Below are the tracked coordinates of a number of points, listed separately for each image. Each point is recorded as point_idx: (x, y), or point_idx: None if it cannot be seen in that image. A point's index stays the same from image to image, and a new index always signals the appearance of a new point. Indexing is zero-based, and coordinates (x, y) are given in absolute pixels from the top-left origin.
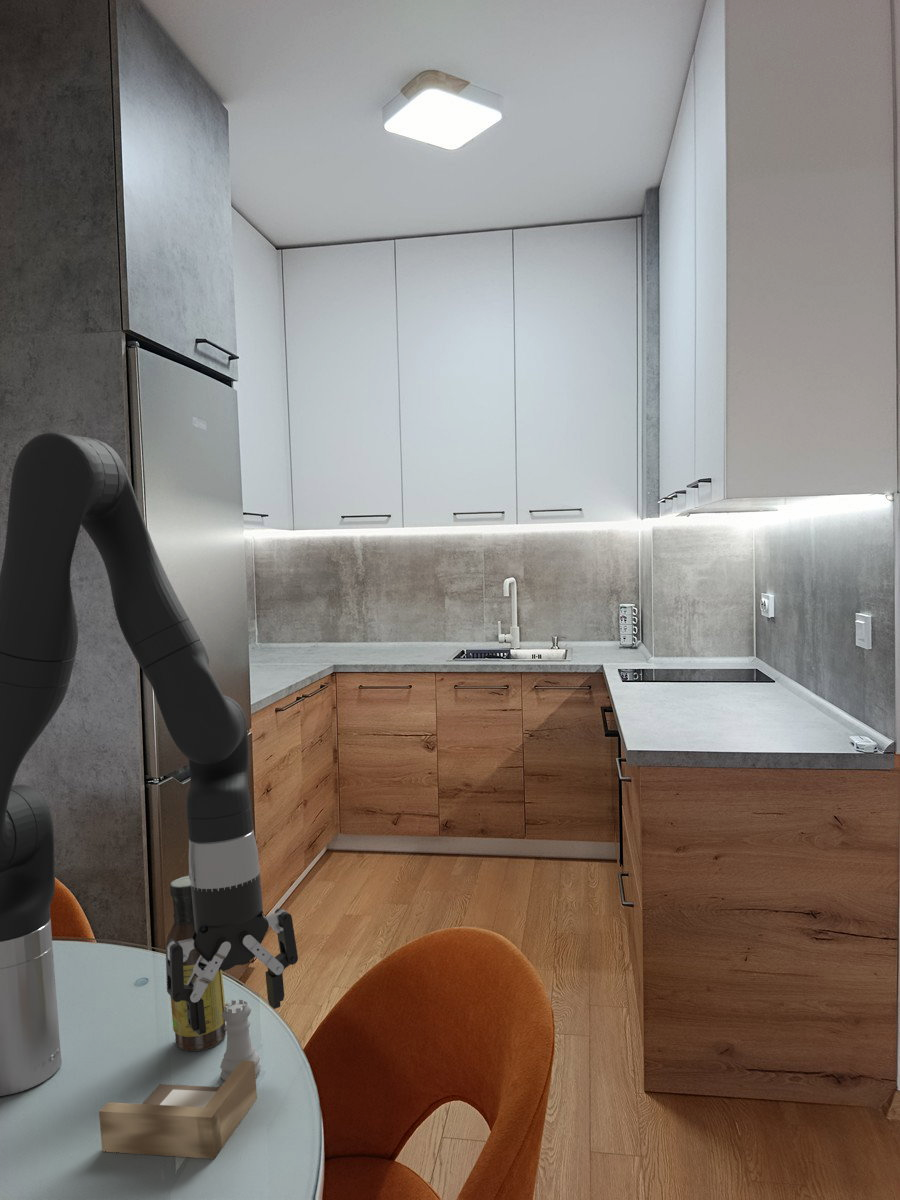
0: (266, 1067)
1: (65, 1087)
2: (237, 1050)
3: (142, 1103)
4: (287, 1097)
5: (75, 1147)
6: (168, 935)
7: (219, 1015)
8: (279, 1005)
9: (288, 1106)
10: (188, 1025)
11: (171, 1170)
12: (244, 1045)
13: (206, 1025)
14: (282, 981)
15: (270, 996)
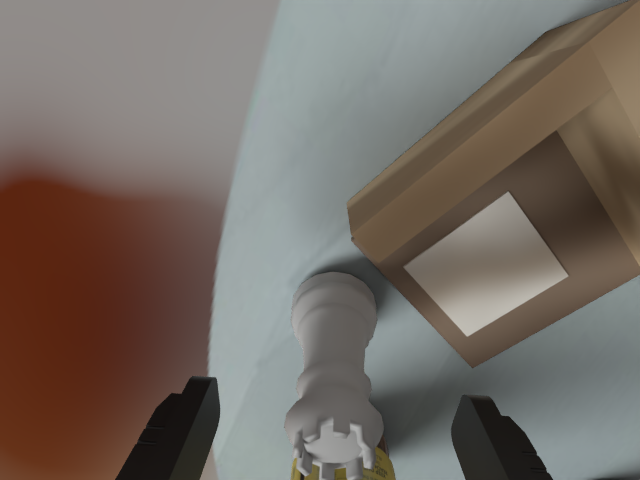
0: (281, 292)
1: (571, 455)
2: (349, 328)
3: (531, 334)
4: (290, 155)
5: None
6: None
7: (315, 467)
8: (193, 379)
9: (303, 117)
10: (383, 474)
11: None
12: (330, 330)
13: None
14: (124, 470)
15: (205, 431)
